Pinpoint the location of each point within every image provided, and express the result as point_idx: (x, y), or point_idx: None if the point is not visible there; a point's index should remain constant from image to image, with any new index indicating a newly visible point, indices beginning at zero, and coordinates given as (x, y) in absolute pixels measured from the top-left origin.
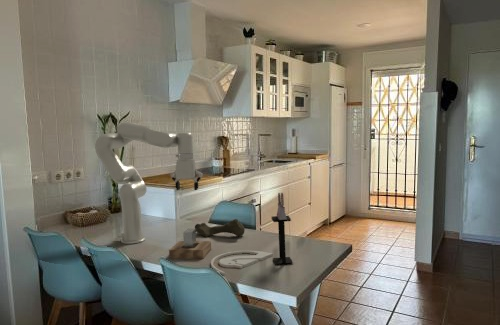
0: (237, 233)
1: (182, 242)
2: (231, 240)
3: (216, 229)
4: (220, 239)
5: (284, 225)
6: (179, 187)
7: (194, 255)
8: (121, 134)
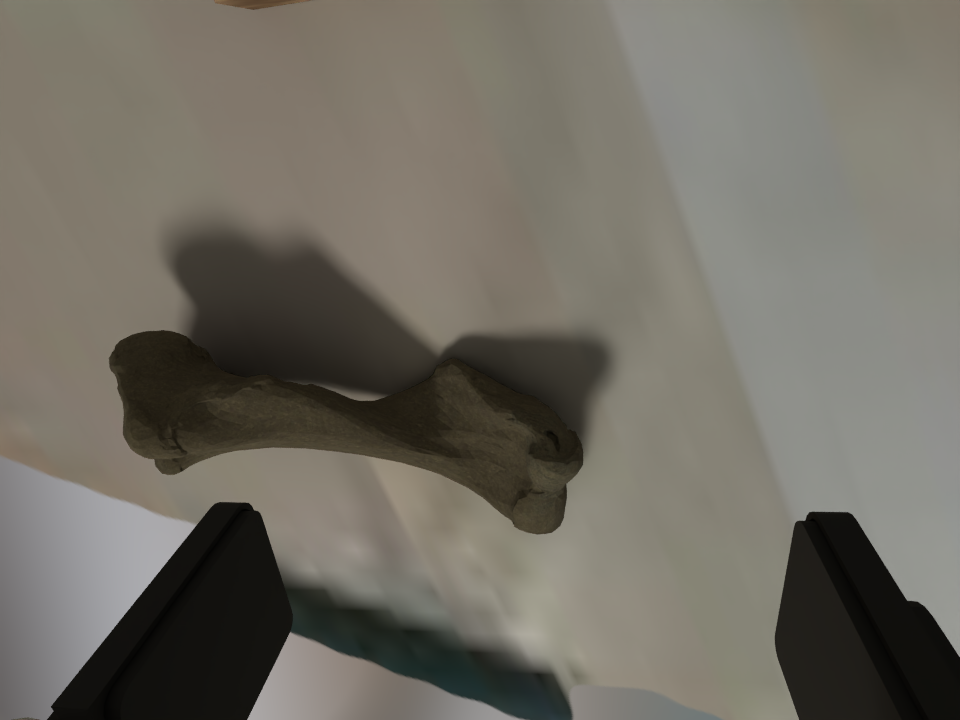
0: (159, 331)
1: None
2: (224, 289)
3: (366, 406)
4: (320, 308)
5: None
6: (796, 673)
7: None
8: None
